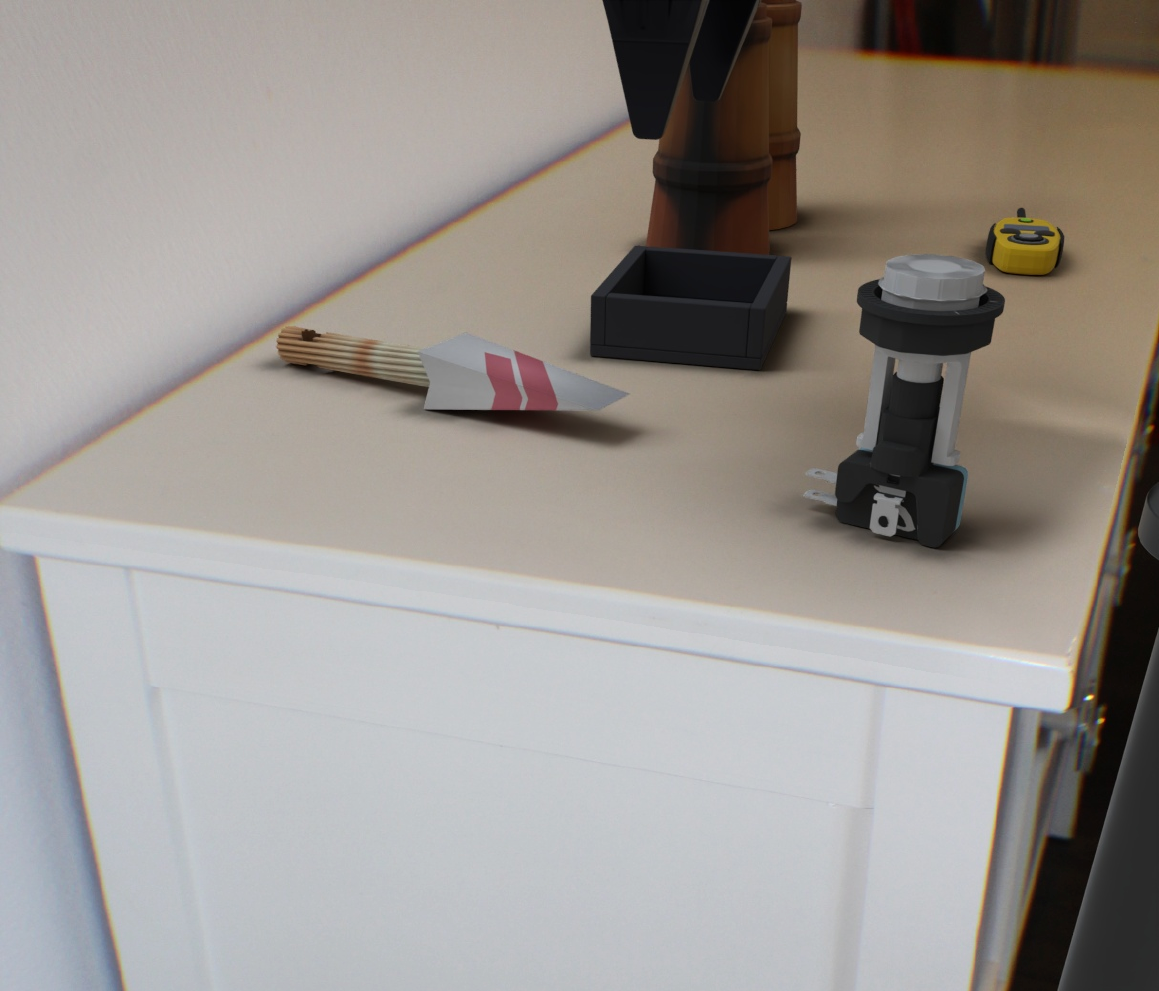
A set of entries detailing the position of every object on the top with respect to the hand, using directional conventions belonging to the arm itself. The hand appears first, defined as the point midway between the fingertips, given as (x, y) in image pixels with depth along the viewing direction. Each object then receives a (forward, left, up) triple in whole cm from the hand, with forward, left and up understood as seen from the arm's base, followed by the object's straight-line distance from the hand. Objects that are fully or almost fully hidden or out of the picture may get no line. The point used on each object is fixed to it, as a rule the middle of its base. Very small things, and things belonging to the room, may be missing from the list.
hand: (679, 119), depth 57 cm
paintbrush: (+12, -4, -14) cm, 19 cm away
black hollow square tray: (+2, -18, -13) cm, 23 cm away
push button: (-10, +6, -14) cm, 18 cm away
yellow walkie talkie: (-16, -44, -14) cm, 49 cm away
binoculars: (+4, -42, -14) cm, 44 cm away
